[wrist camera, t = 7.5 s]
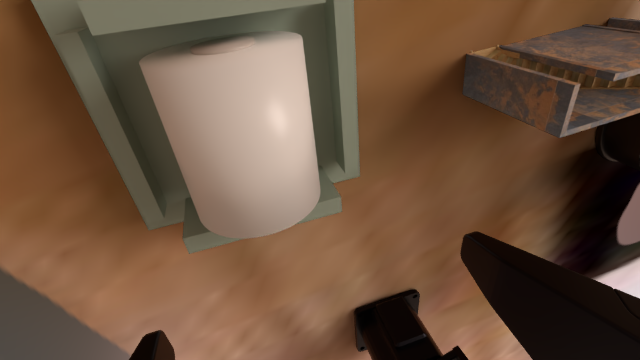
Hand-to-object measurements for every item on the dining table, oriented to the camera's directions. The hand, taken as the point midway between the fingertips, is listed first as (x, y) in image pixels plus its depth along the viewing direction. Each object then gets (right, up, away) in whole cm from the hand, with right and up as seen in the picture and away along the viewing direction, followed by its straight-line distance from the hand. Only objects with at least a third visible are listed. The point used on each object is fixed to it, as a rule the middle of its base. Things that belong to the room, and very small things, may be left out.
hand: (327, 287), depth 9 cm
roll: (-4, +7, +7) cm, 11 cm away
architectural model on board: (+14, +12, +13) cm, 23 cm away
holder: (-5, +7, +8) cm, 12 cm away
